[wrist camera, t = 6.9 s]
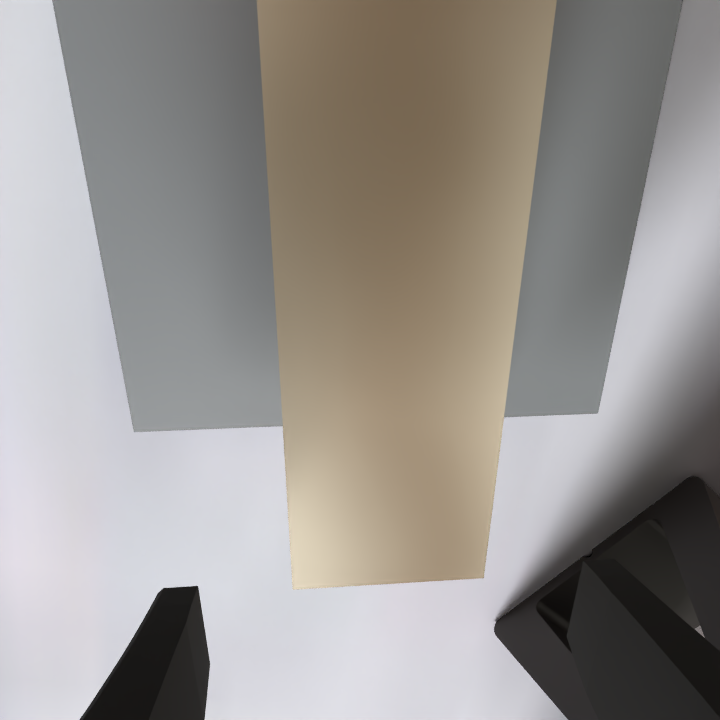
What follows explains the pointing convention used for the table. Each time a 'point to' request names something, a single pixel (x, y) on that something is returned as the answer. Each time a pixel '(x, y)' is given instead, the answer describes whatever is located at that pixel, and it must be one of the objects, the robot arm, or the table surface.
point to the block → (397, 270)
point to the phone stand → (649, 565)
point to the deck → (252, 214)
